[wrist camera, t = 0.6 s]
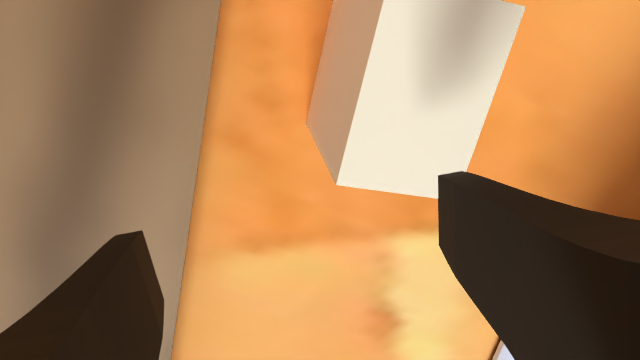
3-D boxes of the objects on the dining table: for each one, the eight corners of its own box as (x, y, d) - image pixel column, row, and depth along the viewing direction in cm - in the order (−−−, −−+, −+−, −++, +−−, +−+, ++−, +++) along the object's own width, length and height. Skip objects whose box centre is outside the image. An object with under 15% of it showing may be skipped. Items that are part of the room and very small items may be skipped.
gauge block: (440, -10, 19) (525, 6, 14) (396, 137, 21) (455, 201, 16) (340, -35, 18) (390, -28, 13) (305, 122, 20) (336, 185, 15)
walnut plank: (233, -95, 17) (235, -101, 15) (149, 503, 28) (145, 541, 26) (-41, -168, 15) (-78, -184, 13) (-13, 507, 26) (-30, 549, 24)
